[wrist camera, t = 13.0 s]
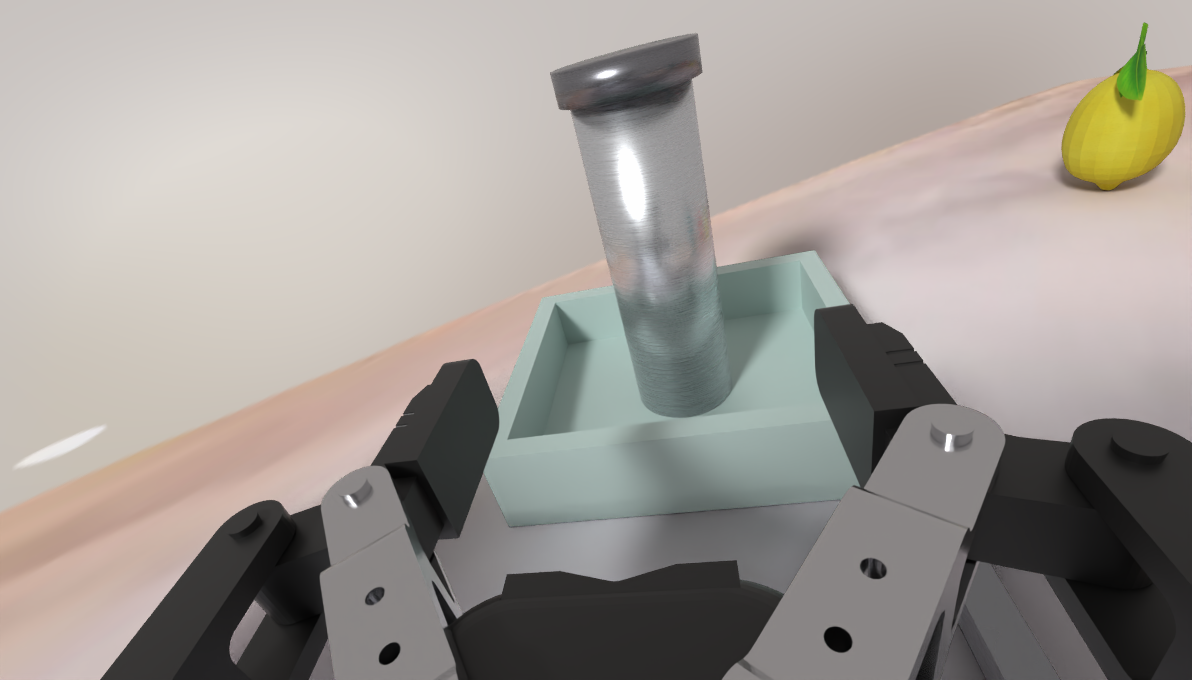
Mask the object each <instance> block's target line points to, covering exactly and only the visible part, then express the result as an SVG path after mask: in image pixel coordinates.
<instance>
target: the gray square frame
mask: <svg viewBox="0 0 1192 680" xmlns="http://www.w3.org/2000/svg"><path fill="white" fill-rule="evenodd" d="M958 624H959V626H960V628H961V630H962V632H963V634H964V636H965V638H966V640H967V642H968V644H969V646H970V648H971V650H972V652H973V654H974V656H975V658H976V660H977V662H978V664H979V666H980V668H981V670H982V672H983V674H984V677H985V679H986V680H1060V678H1059V677H1058V675H1057V673H1056V672H1055V670H1054V668H1053V667H1052V665H1051V663H1050V662H1049V660H1048V658H1047V657H1046V655H1045V653H1044V652H1043V650H1042V648H1041V647H1040V645H1039V643H1038V642H1037V640H1036V639H1035V637H1034V635H1033V634H1032V632H1031V630H1030V629H1029V627H1028V625H1027V624H1026V622H1025V620H1024V619H1023V617H1022V615H1021V614H1020V612H1019V610H1018V609H1017V607H1016V605H1015V604H1014V602H1013V600H1012V599H1011V597H1010V595H1009V594H1008V592H1007V590H1006V589H1005V587H1004V585H1003V584H1002V582H1001V580H1000V579H999V577H998V576H997V574H996V572H995V571H994V569H993V567H992V566H991V564H990V563H985V562H979V564H978V567H977V570H976V573H975V576H974V579H973V581H972V584H971V587H970V590H969V593H968V596H967V598H966V601H965V604H964V607H963V610H962V613H961V616H960V618H959V621H958Z"/></svg>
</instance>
